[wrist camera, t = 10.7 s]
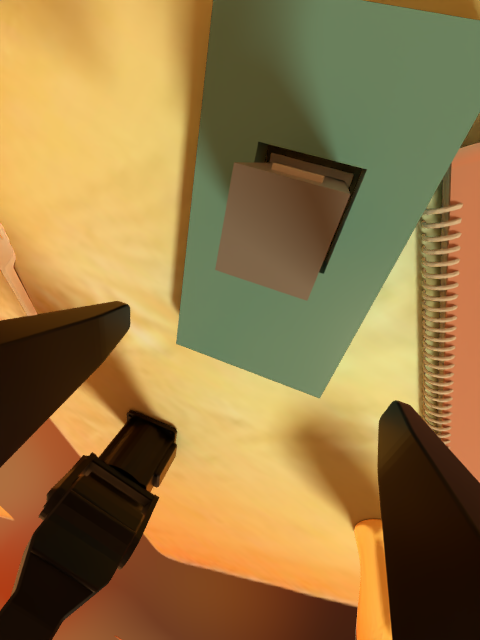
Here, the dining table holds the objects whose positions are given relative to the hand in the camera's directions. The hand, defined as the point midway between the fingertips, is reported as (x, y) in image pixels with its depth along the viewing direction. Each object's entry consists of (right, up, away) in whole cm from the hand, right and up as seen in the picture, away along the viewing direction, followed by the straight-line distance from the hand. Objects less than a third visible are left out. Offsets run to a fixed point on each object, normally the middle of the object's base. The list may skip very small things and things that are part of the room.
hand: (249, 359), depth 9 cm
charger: (+3, +8, +8) cm, 12 cm away
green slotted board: (+3, +7, +9) cm, 12 cm away
